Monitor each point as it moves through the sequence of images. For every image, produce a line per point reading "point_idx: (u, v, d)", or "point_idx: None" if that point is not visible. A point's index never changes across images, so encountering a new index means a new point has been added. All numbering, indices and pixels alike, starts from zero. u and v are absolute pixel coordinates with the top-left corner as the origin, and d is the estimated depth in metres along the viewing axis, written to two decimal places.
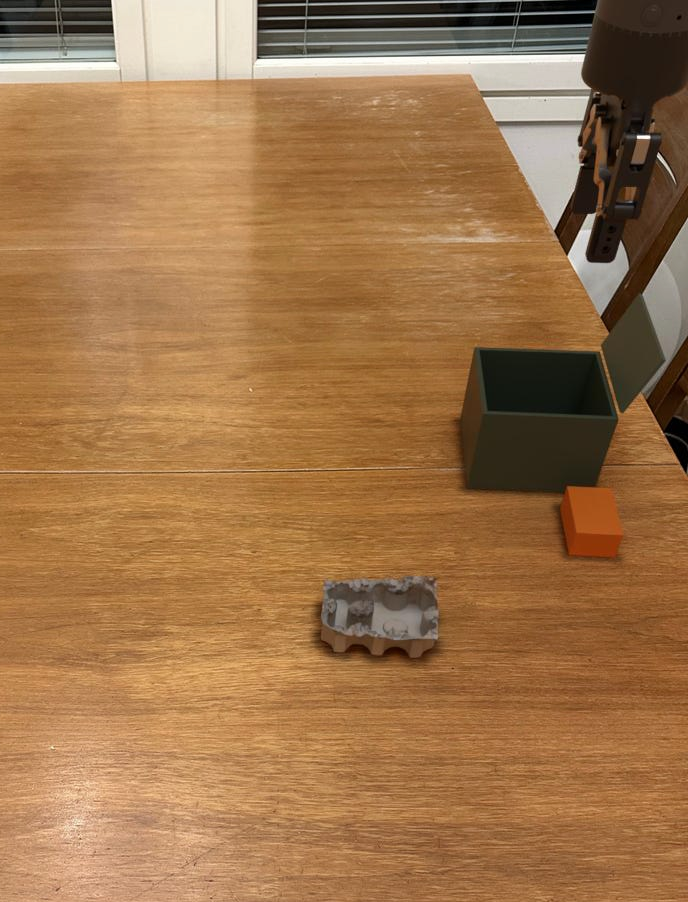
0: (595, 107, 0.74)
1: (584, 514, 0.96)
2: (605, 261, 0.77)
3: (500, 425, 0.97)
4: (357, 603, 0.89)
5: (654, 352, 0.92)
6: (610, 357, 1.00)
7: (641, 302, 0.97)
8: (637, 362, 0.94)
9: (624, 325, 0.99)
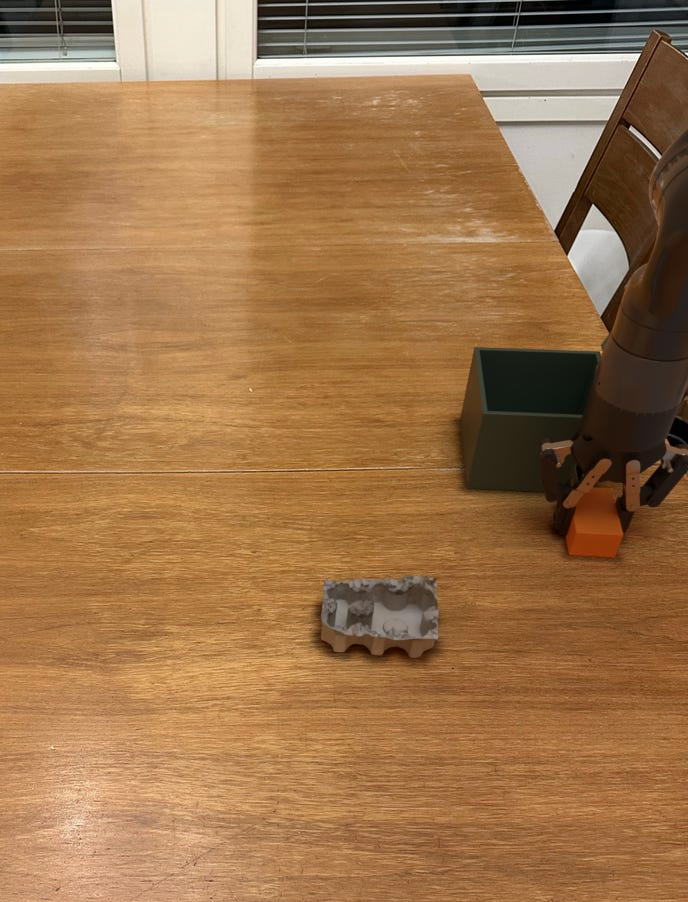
0: None
1: (584, 514, 0.96)
2: (559, 531, 0.98)
3: (500, 425, 0.97)
4: (357, 603, 0.89)
5: None
6: None
7: None
8: None
9: None
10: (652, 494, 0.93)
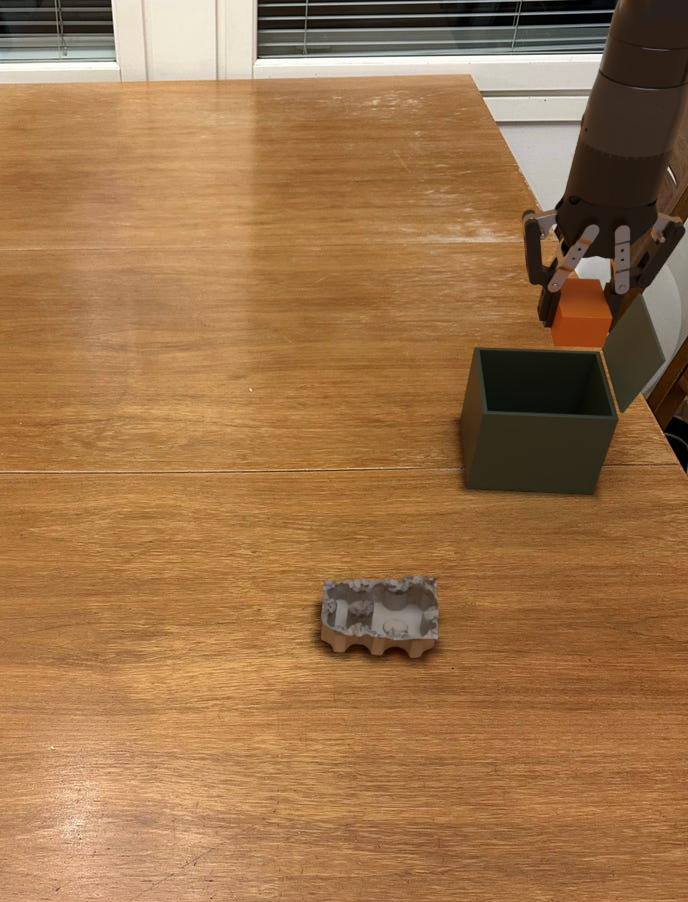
0: None
1: (570, 301, 0.90)
2: (543, 324, 0.92)
3: (500, 425, 0.97)
4: (357, 603, 0.89)
5: (654, 352, 0.92)
6: (610, 357, 1.00)
7: (641, 302, 0.97)
8: (637, 362, 0.94)
9: (624, 325, 0.99)
10: (643, 272, 0.87)
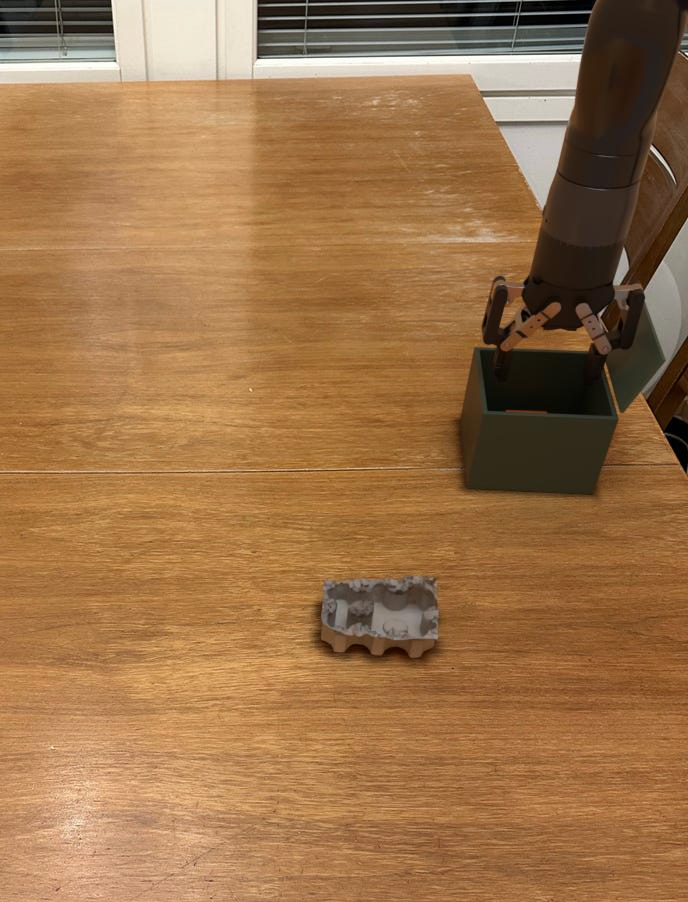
0: None
1: None
2: (498, 379, 1.00)
3: (500, 425, 0.97)
4: (357, 603, 0.89)
5: (654, 352, 0.92)
6: (610, 357, 1.00)
7: None
8: (637, 362, 0.94)
9: None
10: (621, 337, 0.94)
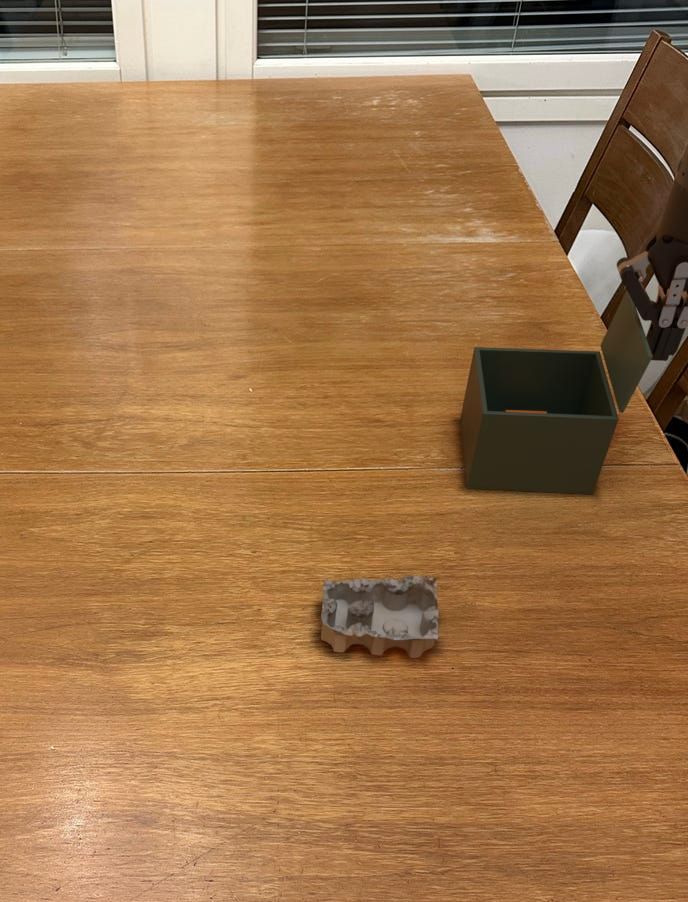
0: None
1: None
2: None
3: (500, 425, 0.97)
4: (357, 603, 0.89)
5: (642, 349, 0.92)
6: (608, 357, 1.00)
7: (628, 299, 0.97)
8: (629, 360, 0.94)
9: (617, 323, 0.99)
10: None
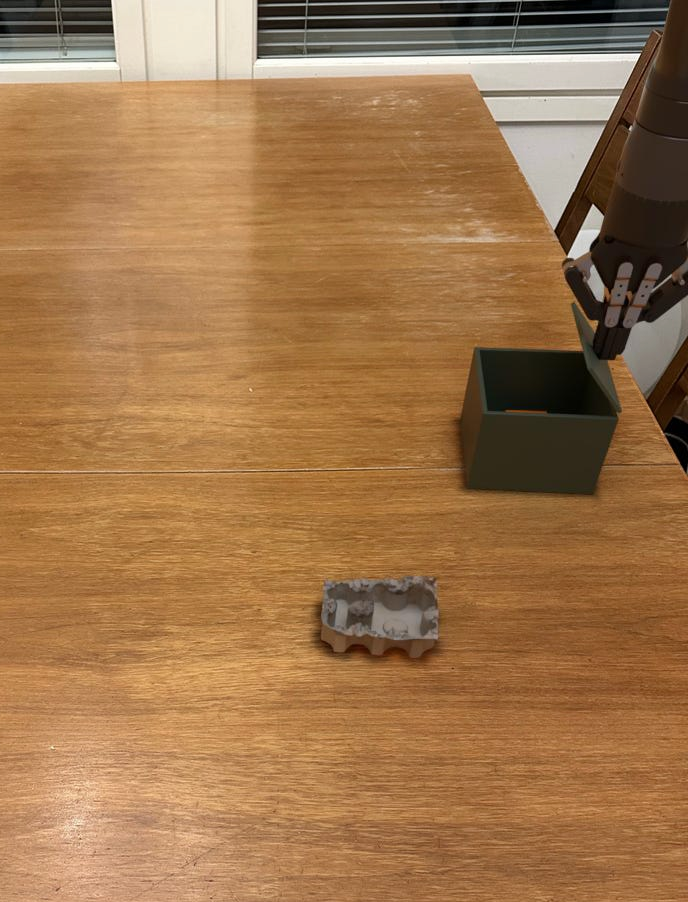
0: None
1: None
2: (598, 356, 0.96)
3: (500, 425, 0.97)
4: (357, 603, 0.89)
5: None
6: None
7: (573, 312, 0.98)
8: None
9: None
10: (653, 307, 0.91)
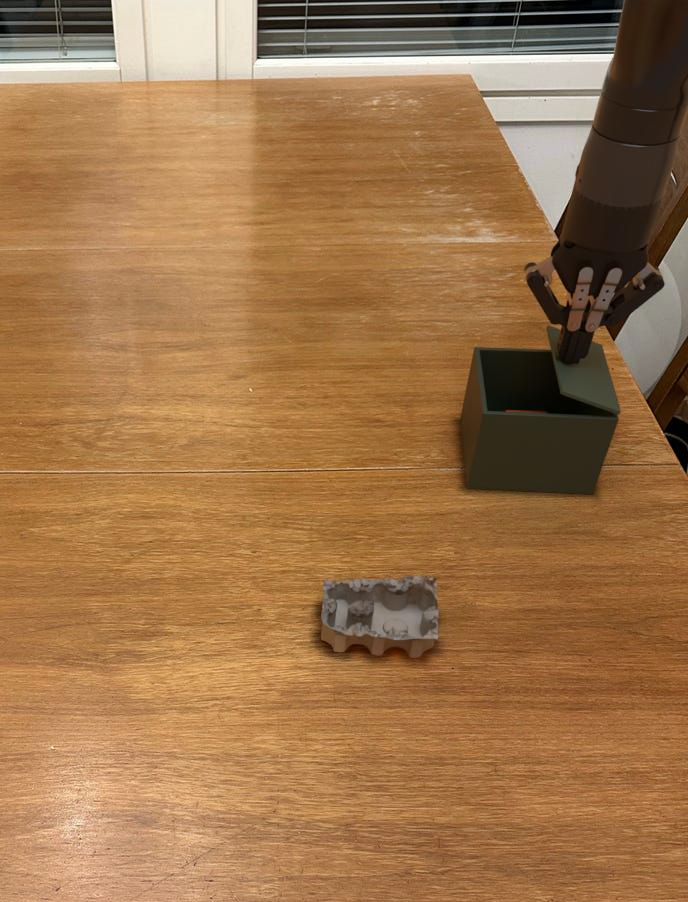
0: None
1: None
2: (562, 360, 0.97)
3: (500, 425, 0.97)
4: (357, 603, 0.89)
5: None
6: None
7: (548, 336, 1.01)
8: None
9: None
10: (615, 311, 0.92)
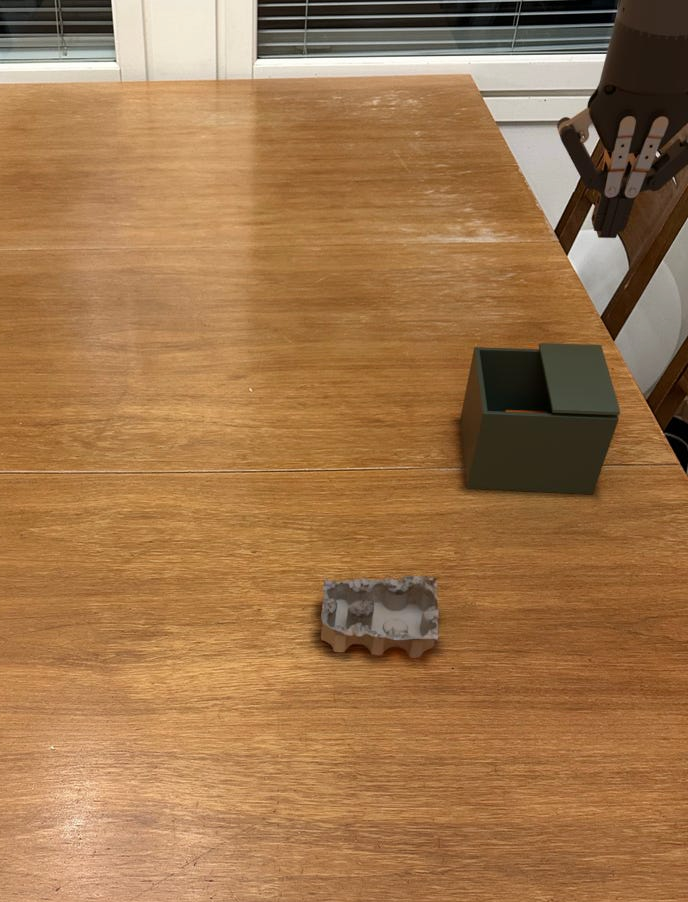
0: None
1: None
2: (598, 234, 0.88)
3: (500, 425, 0.97)
4: (357, 603, 0.89)
5: None
6: None
7: (541, 354, 1.02)
8: None
9: None
10: (659, 172, 0.82)
